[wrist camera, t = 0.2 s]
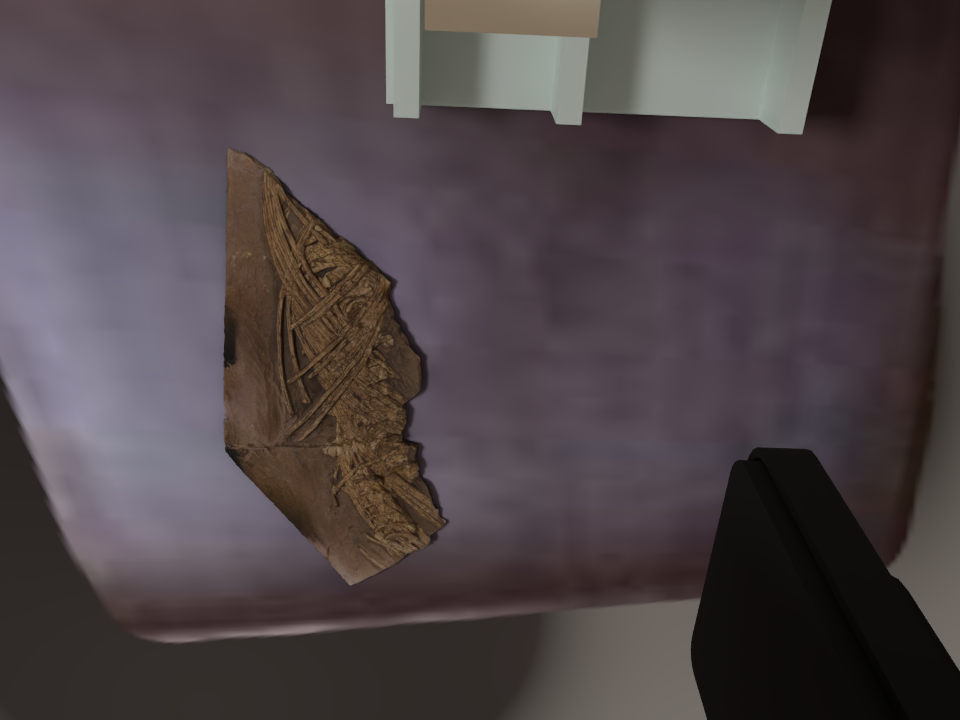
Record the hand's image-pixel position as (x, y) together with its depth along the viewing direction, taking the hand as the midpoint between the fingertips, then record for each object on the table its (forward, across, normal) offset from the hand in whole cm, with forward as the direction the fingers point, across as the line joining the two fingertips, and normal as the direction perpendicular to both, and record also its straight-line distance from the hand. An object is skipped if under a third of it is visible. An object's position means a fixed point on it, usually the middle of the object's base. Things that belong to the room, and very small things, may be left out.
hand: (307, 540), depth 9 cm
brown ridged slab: (+31, +5, +16) cm, 36 cm away
